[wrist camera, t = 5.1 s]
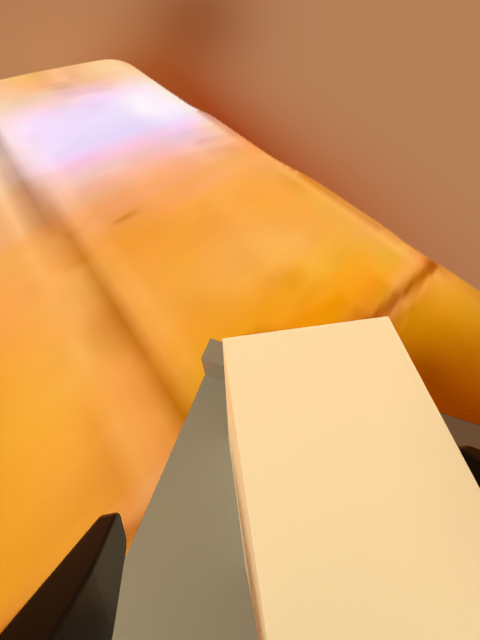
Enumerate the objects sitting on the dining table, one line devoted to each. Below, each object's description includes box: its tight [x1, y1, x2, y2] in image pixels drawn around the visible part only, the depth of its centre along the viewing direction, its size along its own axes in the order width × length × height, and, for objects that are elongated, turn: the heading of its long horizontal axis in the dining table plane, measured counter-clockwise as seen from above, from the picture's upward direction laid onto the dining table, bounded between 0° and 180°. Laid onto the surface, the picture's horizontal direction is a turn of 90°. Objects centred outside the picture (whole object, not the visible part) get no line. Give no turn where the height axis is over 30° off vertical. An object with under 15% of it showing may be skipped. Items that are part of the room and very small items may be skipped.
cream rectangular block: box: [222, 316, 480, 640], centre depth 8 cm, size 5×3×11 cm, turn 9°
